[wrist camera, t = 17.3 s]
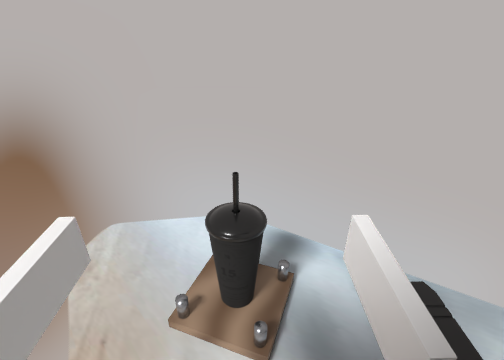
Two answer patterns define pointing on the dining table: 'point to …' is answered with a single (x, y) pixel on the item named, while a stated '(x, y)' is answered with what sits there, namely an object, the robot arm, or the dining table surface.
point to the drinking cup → (236, 247)
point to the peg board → (235, 311)
